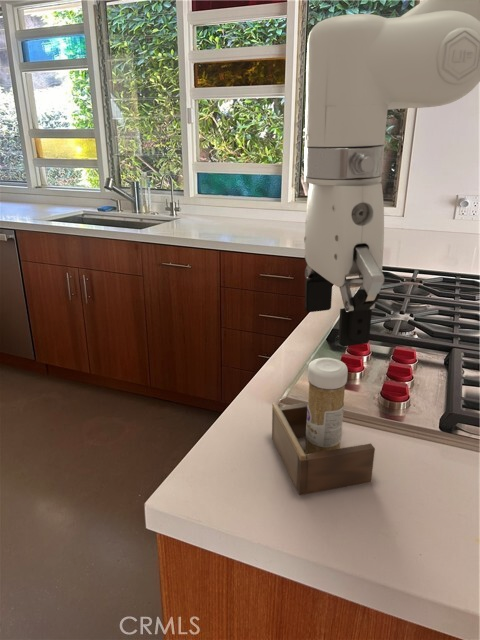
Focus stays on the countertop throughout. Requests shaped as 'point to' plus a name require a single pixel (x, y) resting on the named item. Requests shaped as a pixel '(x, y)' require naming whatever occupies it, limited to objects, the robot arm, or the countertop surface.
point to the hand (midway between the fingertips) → (334, 325)
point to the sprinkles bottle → (325, 404)
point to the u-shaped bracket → (317, 455)
